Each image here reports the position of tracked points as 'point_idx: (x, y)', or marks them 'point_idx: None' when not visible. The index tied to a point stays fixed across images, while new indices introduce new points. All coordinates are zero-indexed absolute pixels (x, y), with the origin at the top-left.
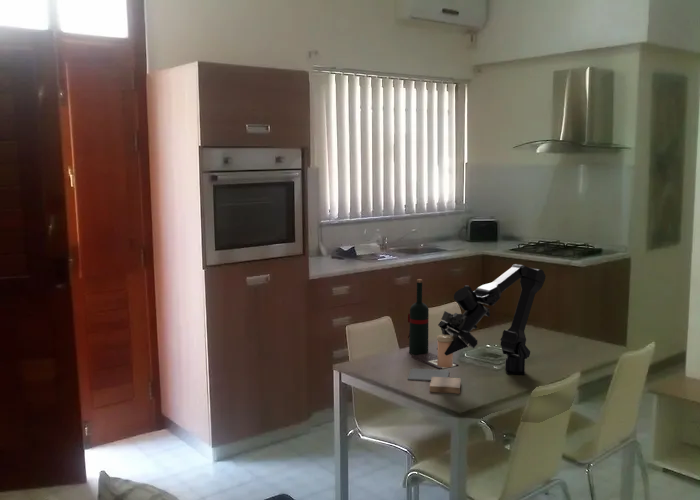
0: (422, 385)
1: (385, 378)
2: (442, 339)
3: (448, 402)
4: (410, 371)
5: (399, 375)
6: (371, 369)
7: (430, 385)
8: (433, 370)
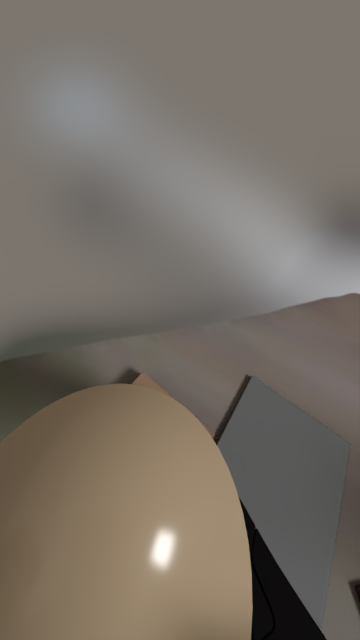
0: (196, 387)
1: (273, 335)
2: (55, 406)
3: (53, 373)
4: (315, 420)
5: (291, 376)
6: (345, 340)
7: (145, 376)
8: (322, 524)
